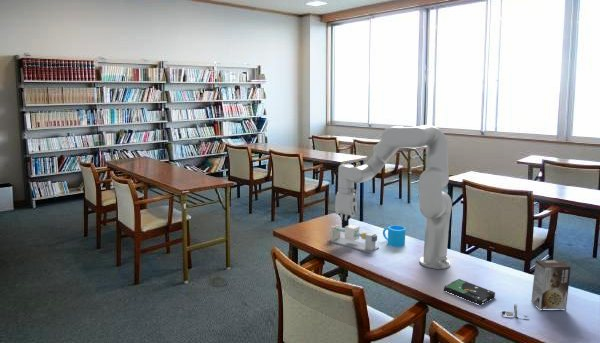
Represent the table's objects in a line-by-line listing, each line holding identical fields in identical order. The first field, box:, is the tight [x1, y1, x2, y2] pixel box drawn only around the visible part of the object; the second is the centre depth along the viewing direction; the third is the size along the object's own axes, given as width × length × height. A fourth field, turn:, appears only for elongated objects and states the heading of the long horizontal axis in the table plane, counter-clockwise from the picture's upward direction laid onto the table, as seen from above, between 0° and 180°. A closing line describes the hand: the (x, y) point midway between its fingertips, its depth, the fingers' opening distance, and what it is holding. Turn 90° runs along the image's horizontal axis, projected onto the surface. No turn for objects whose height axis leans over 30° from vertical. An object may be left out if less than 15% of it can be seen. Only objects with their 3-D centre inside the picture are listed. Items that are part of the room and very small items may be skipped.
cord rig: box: [327, 224, 380, 254], centre depth 217 cm, size 24×8×8 cm, turn 50°
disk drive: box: [443, 278, 496, 306], centre depth 167 cm, size 10×3×15 cm
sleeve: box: [344, 223, 360, 241], centre depth 217 cm, size 5×5×6 cm
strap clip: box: [501, 304, 518, 318], centre depth 151 cm, size 8×3×4 cm, turn 73°
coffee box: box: [530, 259, 572, 310], centre depth 157 cm, size 9×6×16 cm
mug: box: [382, 225, 407, 248], centre depth 220 cm, size 12×8×8 cm
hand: (344, 227), depth 219 cm, fingers closed
